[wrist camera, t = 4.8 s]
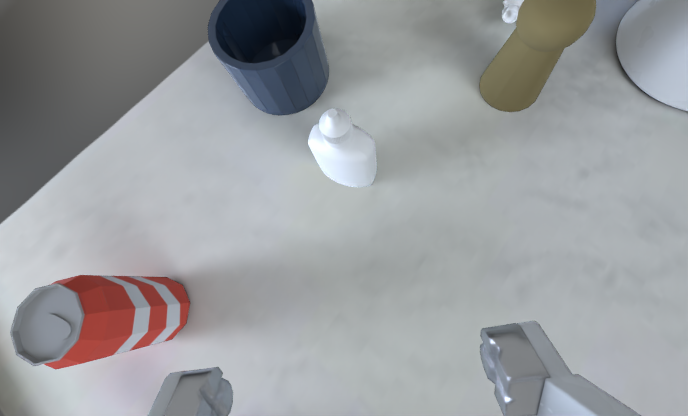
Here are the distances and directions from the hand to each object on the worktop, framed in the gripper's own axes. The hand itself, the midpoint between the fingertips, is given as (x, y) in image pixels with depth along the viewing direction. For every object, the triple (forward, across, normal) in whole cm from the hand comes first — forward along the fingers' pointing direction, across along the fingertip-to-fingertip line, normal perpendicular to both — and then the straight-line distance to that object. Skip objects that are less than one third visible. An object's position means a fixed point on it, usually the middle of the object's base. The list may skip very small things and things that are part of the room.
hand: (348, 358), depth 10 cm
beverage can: (+17, +21, +13) cm, 30 cm away
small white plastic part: (+36, -21, -5) cm, 42 cm away
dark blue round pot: (+34, +5, -4) cm, 35 cm away
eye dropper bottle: (+25, 0, +5) cm, 26 cm away
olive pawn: (+29, -18, +1) cm, 34 cm away
